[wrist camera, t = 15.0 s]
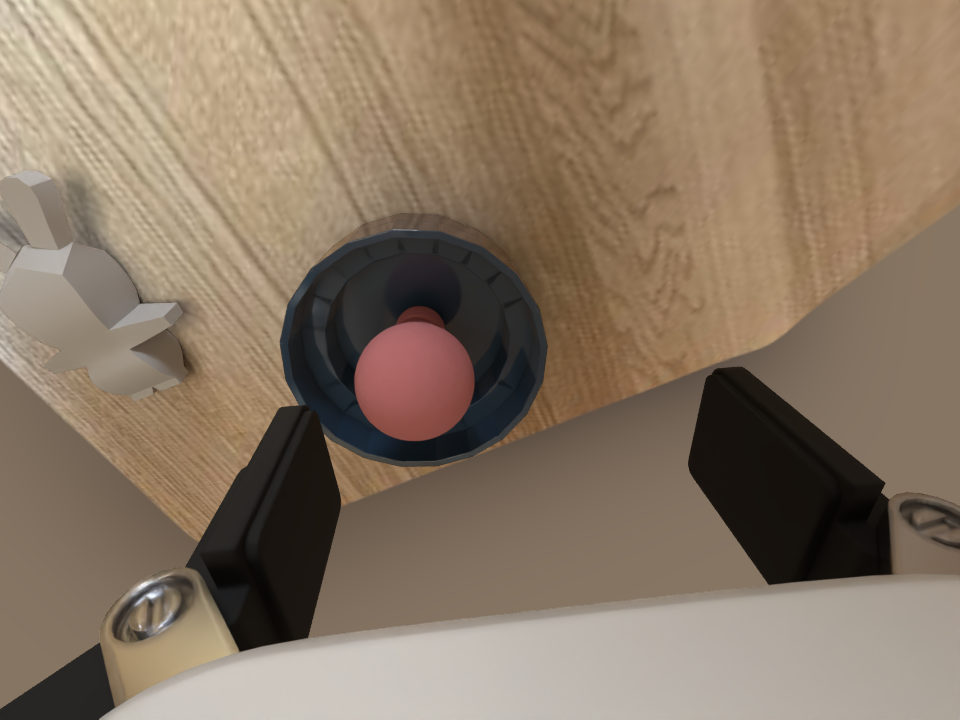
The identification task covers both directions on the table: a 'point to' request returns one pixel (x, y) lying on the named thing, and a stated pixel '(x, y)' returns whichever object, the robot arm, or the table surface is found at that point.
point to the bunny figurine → (82, 300)
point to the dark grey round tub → (377, 306)
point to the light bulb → (414, 378)
